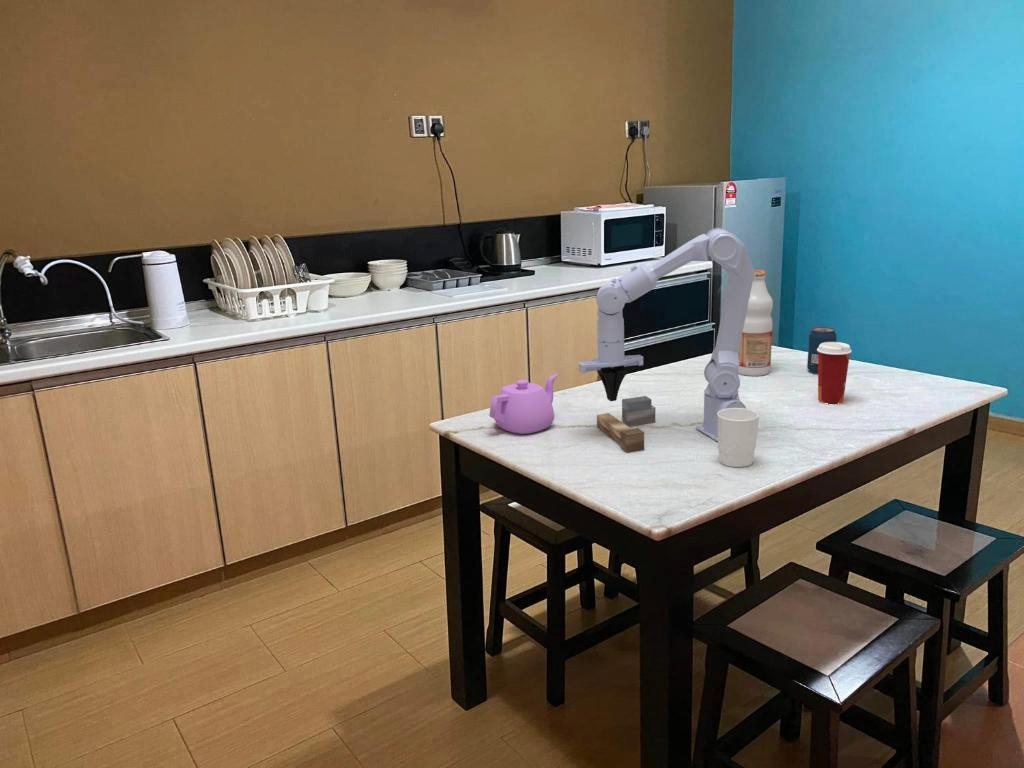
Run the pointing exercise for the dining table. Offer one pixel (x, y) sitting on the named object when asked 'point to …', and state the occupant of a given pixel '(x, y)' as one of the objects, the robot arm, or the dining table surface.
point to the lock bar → (636, 403)
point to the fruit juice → (757, 330)
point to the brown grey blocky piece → (632, 437)
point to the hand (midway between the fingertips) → (611, 399)
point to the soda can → (815, 339)
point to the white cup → (737, 436)
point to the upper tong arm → (612, 423)
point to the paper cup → (832, 371)
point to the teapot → (524, 407)
